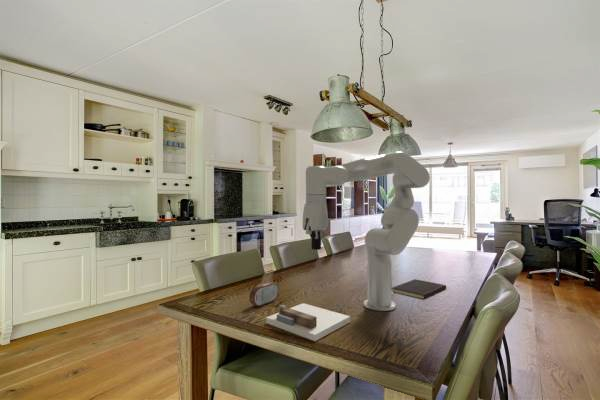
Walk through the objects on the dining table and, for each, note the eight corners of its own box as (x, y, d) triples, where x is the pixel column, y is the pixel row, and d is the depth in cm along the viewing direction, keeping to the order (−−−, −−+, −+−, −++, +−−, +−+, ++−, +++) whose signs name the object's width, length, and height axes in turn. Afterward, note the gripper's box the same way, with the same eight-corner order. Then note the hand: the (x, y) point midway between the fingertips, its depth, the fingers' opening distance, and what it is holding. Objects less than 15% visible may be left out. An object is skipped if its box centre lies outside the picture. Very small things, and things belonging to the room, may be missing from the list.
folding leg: (276, 316, 111) (276, 306, 111) (282, 314, 113) (282, 304, 113) (310, 329, 100) (310, 317, 100) (316, 326, 102) (316, 315, 102)
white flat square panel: (303, 308, 126) (303, 298, 126) (350, 322, 111) (350, 310, 111) (266, 323, 111) (266, 311, 111) (315, 341, 96) (315, 328, 96)
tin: (274, 298, 139) (274, 279, 139) (280, 299, 137) (279, 280, 137) (248, 307, 127) (248, 286, 127) (254, 309, 125) (254, 288, 125)
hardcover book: (391, 292, 148) (391, 287, 148) (415, 283, 164) (415, 279, 164) (424, 300, 136) (424, 295, 136) (446, 289, 152) (446, 285, 152)
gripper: (320, 199, 124) (320, 246, 124) (294, 199, 113) (295, 250, 113) (336, 199, 119) (336, 247, 119) (311, 199, 108) (311, 253, 108)
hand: (316, 249), depth 116 cm, fingers closed
